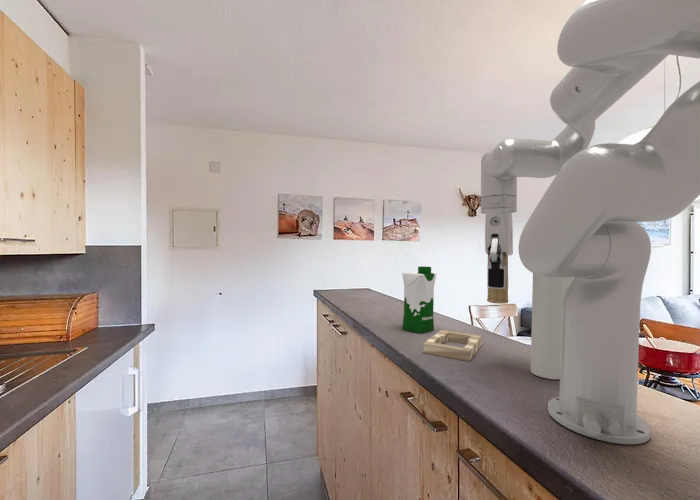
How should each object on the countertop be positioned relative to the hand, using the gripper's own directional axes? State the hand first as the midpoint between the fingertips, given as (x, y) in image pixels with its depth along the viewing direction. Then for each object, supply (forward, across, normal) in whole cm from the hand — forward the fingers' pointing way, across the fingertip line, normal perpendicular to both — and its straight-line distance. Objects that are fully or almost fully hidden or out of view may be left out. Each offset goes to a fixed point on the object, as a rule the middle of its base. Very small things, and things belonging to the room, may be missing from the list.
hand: (497, 285), depth 77 cm
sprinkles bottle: (+4, 0, 0) cm, 4 cm away
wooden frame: (+18, +6, +11) cm, 22 cm away
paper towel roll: (+18, -1, -10) cm, 21 cm away
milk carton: (+17, +20, +26) cm, 37 cm away
